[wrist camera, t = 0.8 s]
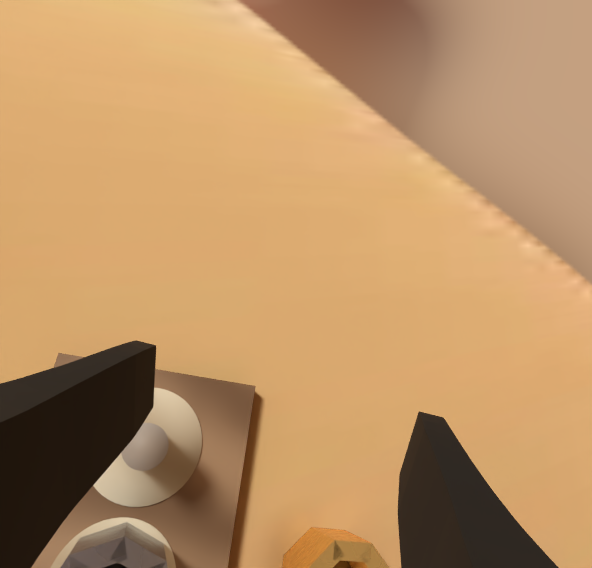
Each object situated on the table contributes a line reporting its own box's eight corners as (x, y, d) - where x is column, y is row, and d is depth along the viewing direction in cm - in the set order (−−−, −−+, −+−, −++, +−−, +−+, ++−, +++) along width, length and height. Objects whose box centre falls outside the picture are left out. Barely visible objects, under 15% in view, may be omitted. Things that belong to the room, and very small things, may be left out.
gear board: (207, 665, 22) (226, 734, 17) (-37, 664, 19) (-102, 746, 14) (250, 388, 27) (275, 377, 22) (62, 356, 25) (40, 335, 19)
